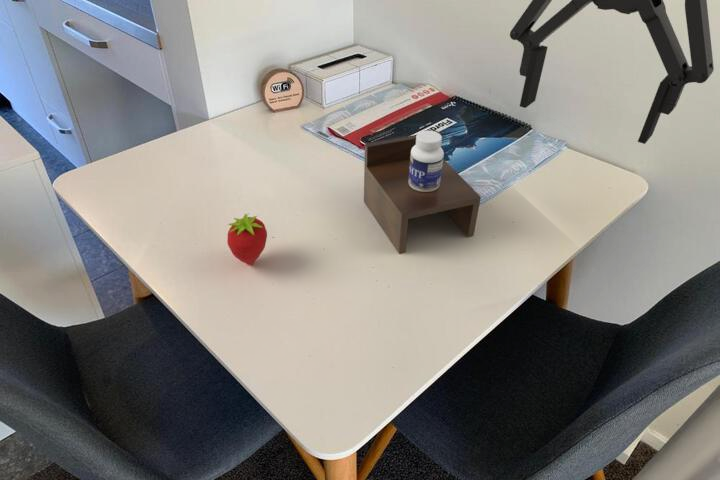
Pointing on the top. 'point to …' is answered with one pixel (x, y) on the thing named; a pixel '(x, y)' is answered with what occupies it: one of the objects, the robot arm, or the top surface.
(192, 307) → the top surface
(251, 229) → the strawberry
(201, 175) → the top surface
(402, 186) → the shelf
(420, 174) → the pill bottle
